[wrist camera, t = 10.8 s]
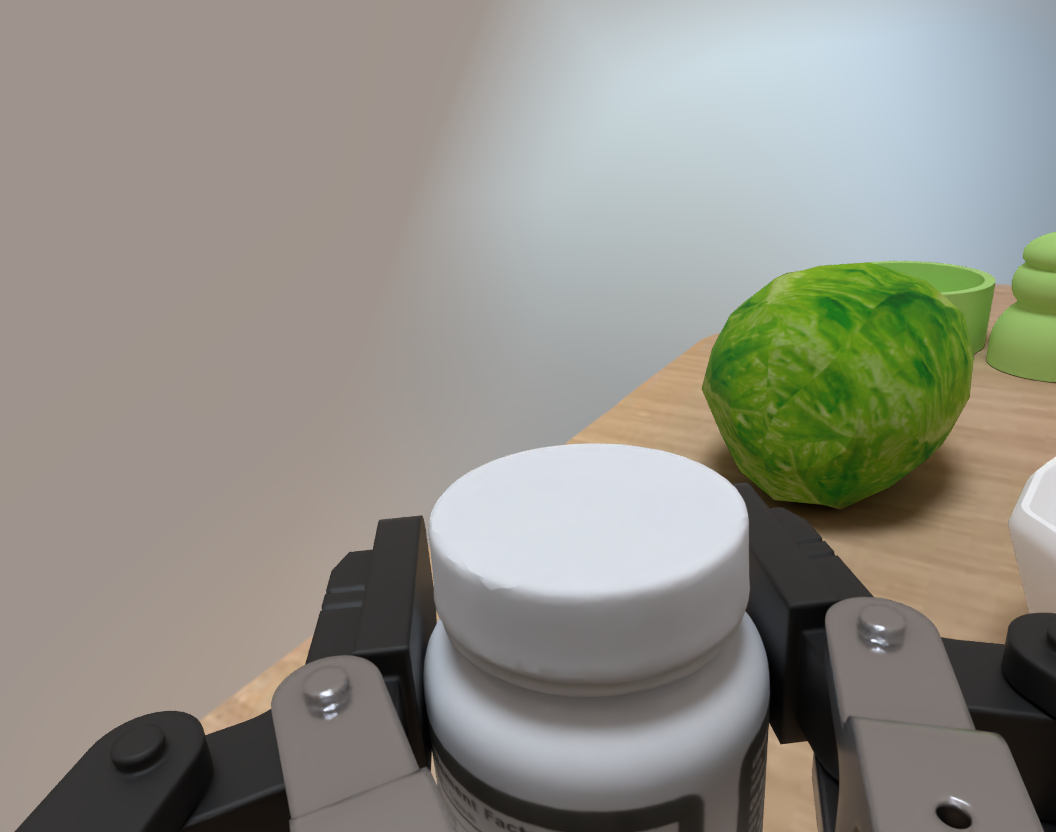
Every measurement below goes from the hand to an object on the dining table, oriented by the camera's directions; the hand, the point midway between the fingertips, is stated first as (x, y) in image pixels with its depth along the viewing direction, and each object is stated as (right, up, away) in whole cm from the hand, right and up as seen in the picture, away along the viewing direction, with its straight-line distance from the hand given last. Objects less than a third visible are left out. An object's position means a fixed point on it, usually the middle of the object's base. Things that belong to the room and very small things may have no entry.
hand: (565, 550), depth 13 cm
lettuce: (+21, -1, +40) cm, 45 cm away
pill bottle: (+1, -7, 0) cm, 7 cm away
